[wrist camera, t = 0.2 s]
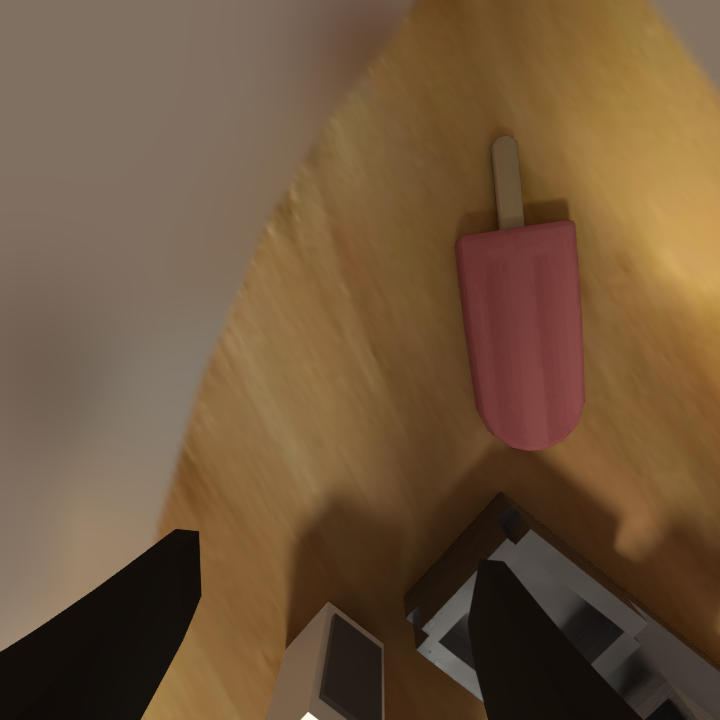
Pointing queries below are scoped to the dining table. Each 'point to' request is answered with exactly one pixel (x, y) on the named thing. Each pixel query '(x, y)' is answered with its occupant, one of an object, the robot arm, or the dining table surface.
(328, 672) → the block
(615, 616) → the grey socket block stand
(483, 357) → the popsicle
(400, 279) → the dining table surface
